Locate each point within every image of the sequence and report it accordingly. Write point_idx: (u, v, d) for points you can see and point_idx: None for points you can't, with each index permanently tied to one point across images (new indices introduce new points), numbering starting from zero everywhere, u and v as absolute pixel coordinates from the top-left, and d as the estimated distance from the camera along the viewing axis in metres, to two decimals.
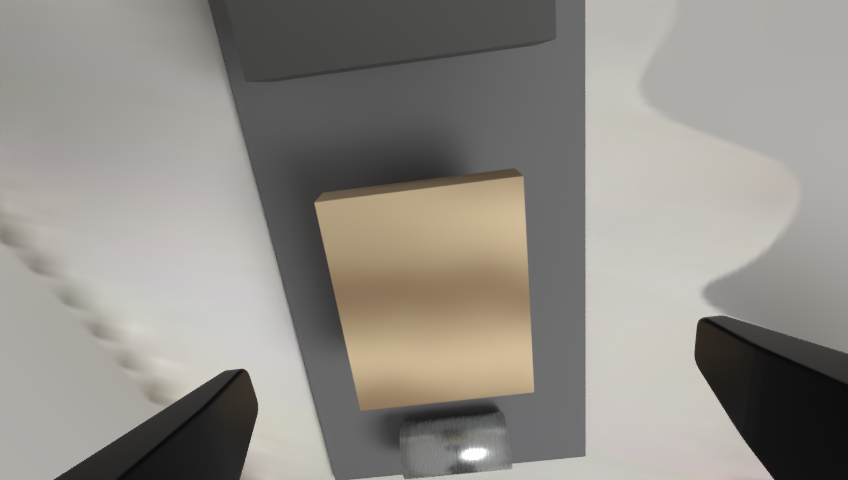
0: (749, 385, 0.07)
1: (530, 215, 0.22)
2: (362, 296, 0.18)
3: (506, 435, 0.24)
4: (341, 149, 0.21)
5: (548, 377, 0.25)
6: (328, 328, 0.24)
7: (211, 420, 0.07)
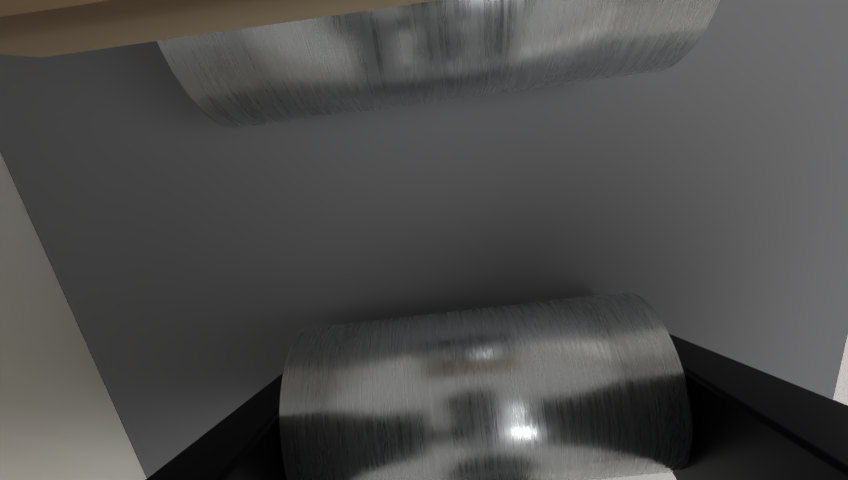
0: None
1: None
2: None
3: (668, 350, 0.06)
4: None
5: (764, 181, 0.08)
6: None
7: None
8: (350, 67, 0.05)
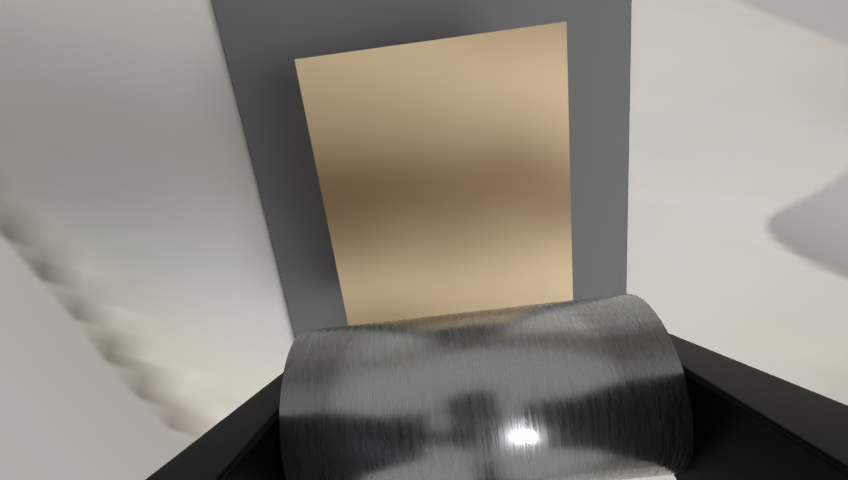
0: None
1: None
2: (356, 193, 0.14)
3: (669, 353, 0.06)
4: (333, 34, 0.17)
5: None
6: (317, 268, 0.20)
7: None
8: None
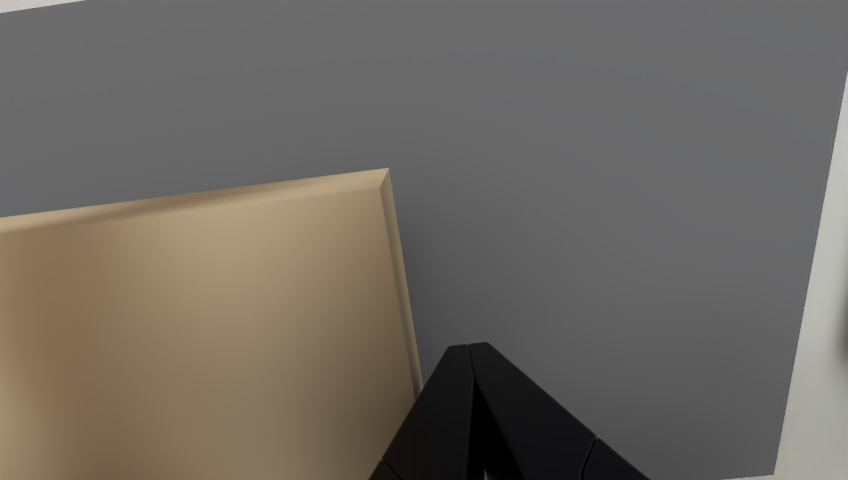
0: (478, 413, 0.07)
1: (156, 122, 0.10)
2: None
3: None
4: None
5: (572, 38, 0.10)
6: None
7: (476, 392, 0.07)
8: None
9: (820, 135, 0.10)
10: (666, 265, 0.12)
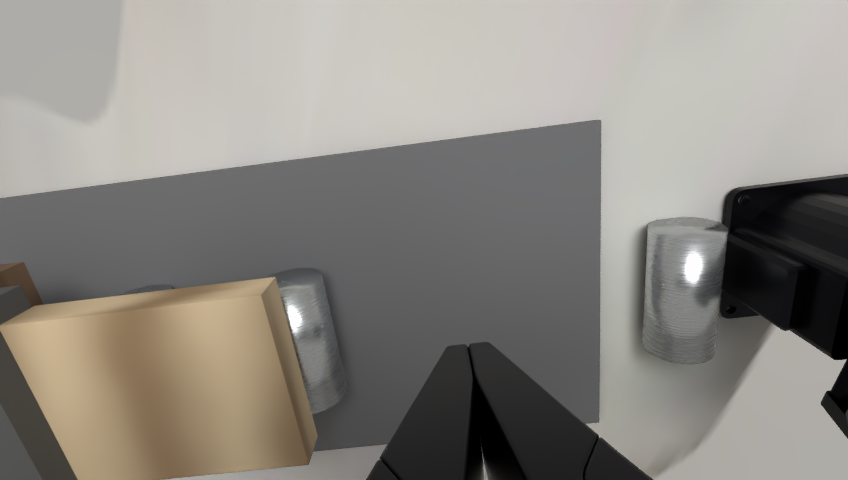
0: (479, 413, 0.07)
1: (243, 228, 0.20)
2: (167, 457, 0.18)
3: None
4: None
5: (458, 189, 0.19)
6: (391, 416, 0.23)
7: (474, 392, 0.07)
8: None
9: (592, 234, 0.20)
10: (520, 300, 0.21)
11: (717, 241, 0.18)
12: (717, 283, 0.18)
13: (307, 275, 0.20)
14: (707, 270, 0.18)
